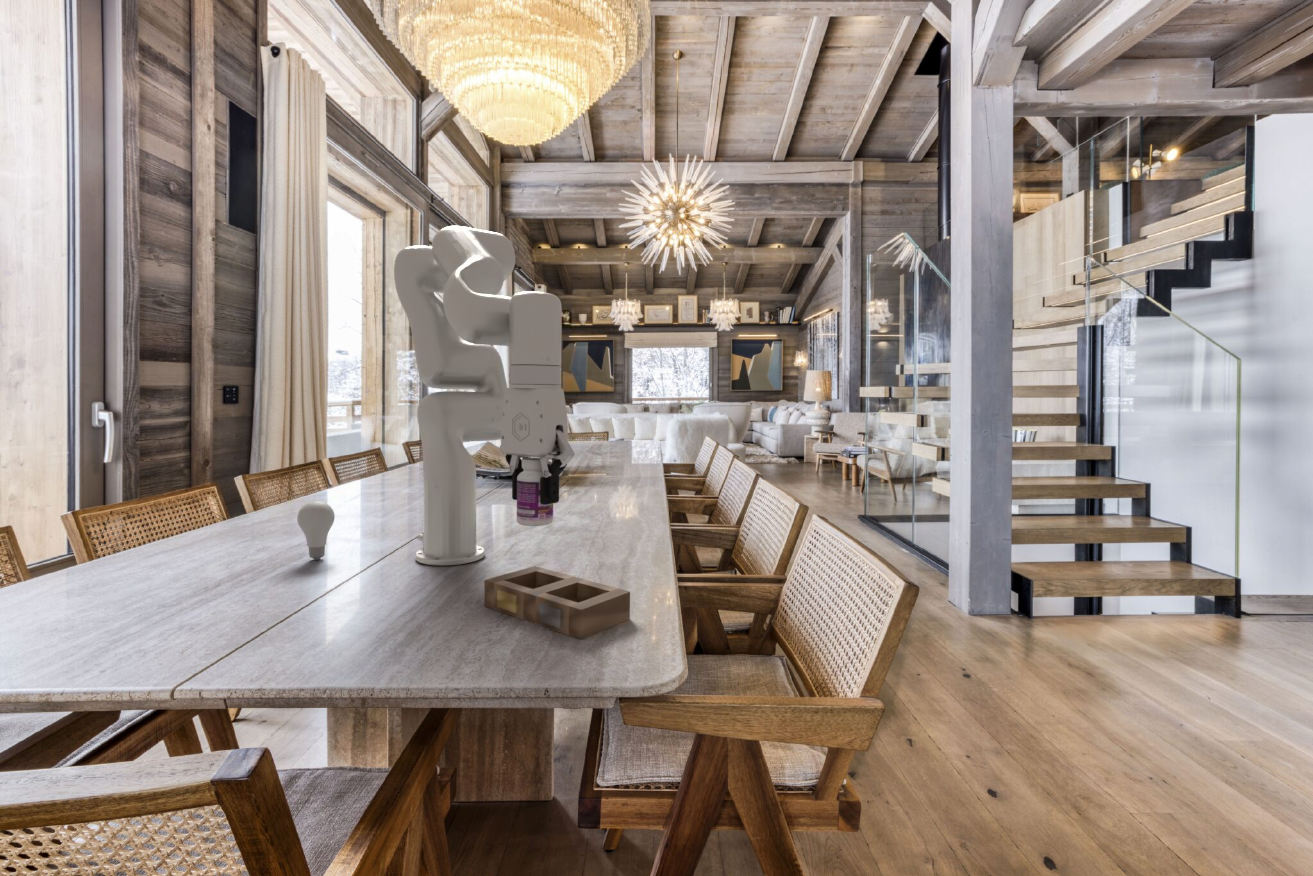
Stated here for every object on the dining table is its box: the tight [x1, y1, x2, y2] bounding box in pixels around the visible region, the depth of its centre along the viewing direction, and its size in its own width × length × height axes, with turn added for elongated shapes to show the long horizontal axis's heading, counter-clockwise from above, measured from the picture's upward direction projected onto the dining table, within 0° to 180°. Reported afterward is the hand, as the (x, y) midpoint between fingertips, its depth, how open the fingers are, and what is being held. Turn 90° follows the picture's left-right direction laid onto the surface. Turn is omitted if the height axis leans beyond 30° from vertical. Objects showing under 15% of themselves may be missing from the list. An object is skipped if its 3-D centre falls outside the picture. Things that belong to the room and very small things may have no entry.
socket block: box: [483, 565, 631, 640], centre depth 95 cm, size 20×10×4 cm, turn 53°
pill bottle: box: [516, 457, 554, 527], centre depth 96 cm, size 5×5×10 cm
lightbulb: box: [297, 500, 335, 561], centre depth 120 cm, size 6×6×11 cm
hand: (535, 499), depth 96 cm, fingers closed on pill bottle, 5 cm apart
